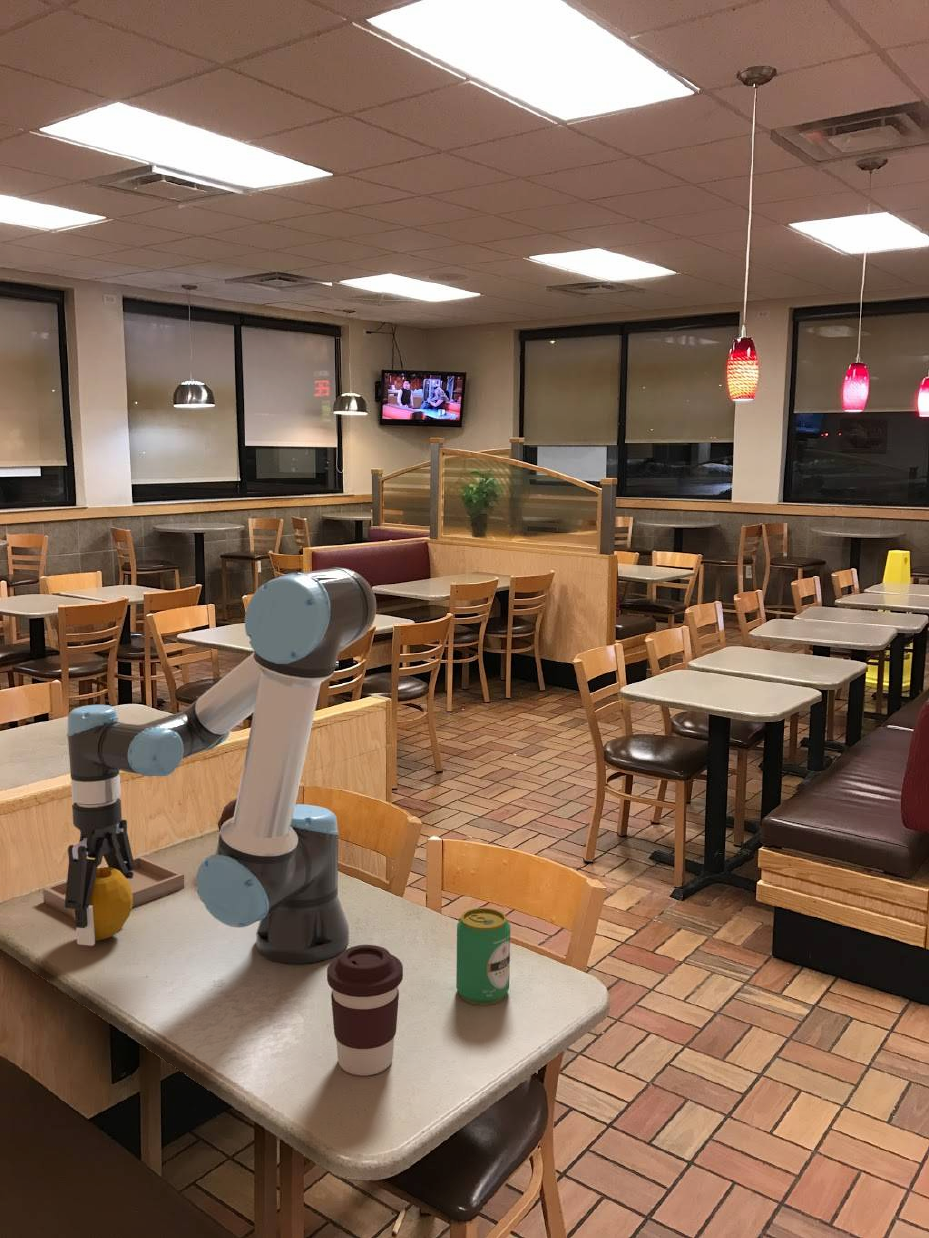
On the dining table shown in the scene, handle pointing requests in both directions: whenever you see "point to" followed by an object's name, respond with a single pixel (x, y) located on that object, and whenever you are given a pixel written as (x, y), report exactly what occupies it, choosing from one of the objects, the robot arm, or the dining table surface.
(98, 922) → the apple
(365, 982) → the coffee cup
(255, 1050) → the dining table surface
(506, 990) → the beverage can
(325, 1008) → the dining table surface
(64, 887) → the tray
